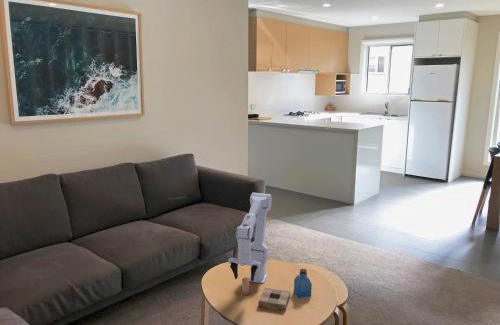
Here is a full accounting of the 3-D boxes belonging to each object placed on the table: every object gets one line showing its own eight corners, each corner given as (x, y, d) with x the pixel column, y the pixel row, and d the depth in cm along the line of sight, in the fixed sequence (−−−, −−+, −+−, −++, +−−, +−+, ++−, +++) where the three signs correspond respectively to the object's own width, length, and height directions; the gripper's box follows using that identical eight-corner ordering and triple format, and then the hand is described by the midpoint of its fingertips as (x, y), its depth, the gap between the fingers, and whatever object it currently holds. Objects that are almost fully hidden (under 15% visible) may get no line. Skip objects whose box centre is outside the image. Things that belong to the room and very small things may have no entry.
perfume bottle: (298, 298, 184) (299, 274, 182) (293, 291, 190) (294, 268, 188) (311, 296, 186) (312, 272, 184) (305, 289, 192) (306, 266, 189)
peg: (243, 290, 190) (243, 277, 189) (249, 291, 189) (249, 278, 188) (241, 294, 187) (241, 280, 186) (247, 295, 186) (247, 281, 185)
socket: (264, 293, 188) (265, 287, 187) (290, 297, 185) (290, 291, 184) (258, 307, 176) (258, 300, 176) (285, 311, 173) (285, 305, 173)
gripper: (226, 253, 177) (226, 281, 180) (257, 257, 173) (257, 285, 176) (231, 246, 184) (231, 274, 186) (261, 250, 180) (261, 278, 183)
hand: (244, 279), depth 182 cm, fingers open, 7 cm apart
